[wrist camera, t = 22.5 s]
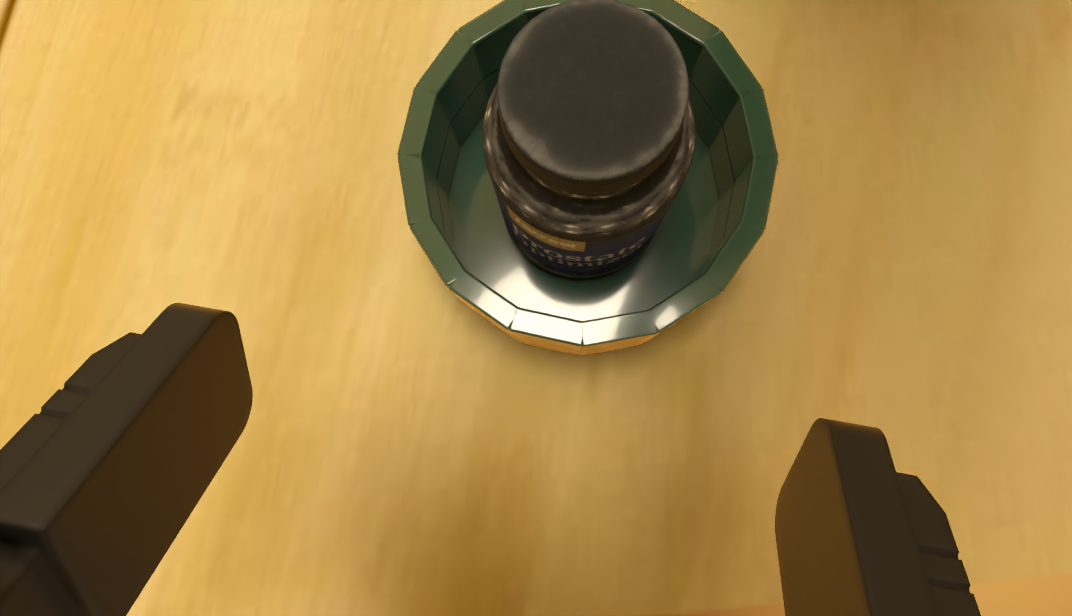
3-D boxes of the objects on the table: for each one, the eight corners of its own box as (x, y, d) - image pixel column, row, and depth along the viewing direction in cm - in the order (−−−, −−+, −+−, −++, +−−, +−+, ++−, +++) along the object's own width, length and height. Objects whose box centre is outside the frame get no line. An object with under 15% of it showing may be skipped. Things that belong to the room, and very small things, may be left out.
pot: (545, 9, 30) (540, -85, 24) (791, 166, 29) (848, 108, 23) (375, 242, 29) (327, 204, 23) (621, 414, 28) (635, 420, 22)
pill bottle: (505, 284, 28) (465, 215, 17) (501, 133, 29) (461, -27, 18) (665, 278, 28) (727, 204, 17) (657, 126, 29) (712, -40, 18)
